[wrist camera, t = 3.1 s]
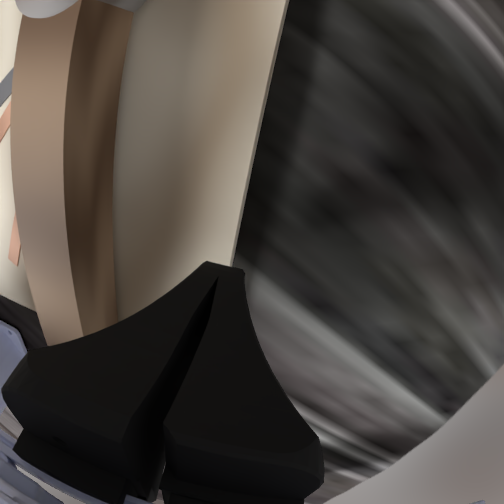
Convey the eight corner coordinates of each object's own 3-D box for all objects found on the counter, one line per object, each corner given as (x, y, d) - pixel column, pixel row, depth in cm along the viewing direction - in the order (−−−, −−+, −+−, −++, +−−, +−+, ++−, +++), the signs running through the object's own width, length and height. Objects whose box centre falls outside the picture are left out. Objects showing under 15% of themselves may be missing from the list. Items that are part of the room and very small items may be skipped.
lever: (85, -49, 6) (33, -69, 3) (170, -62, 6) (130, -100, 3) (75, 333, 15) (48, 373, 12) (132, 354, 15) (108, 400, 12)
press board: (-26, 264, 17) (-38, 275, 16) (-31, -4, 7) (-48, -4, 6) (215, 351, 17) (209, 373, 16) (303, -57, 7) (303, -75, 6)
